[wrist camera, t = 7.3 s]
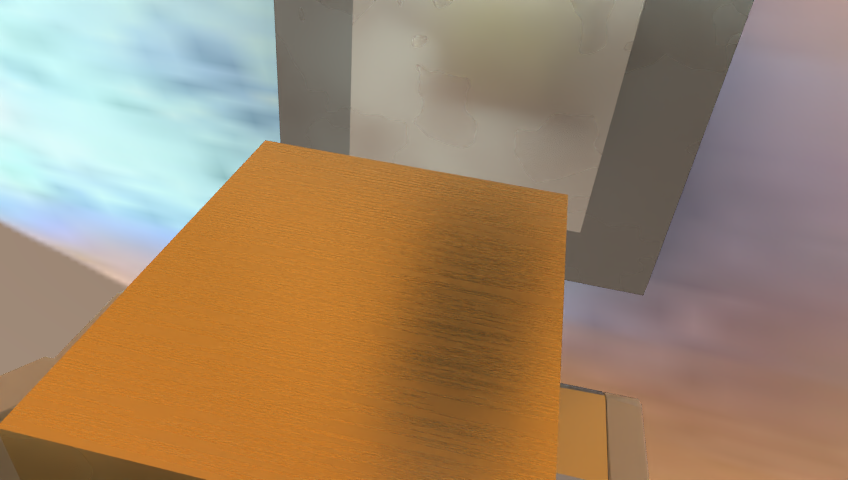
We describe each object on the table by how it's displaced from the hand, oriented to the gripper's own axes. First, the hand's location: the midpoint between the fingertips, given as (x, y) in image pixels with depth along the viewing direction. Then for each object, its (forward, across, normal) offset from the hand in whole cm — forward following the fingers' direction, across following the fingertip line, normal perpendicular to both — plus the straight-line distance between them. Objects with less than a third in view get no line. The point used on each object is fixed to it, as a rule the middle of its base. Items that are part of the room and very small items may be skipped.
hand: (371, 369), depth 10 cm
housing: (+2, 0, 0) cm, 2 cm away
